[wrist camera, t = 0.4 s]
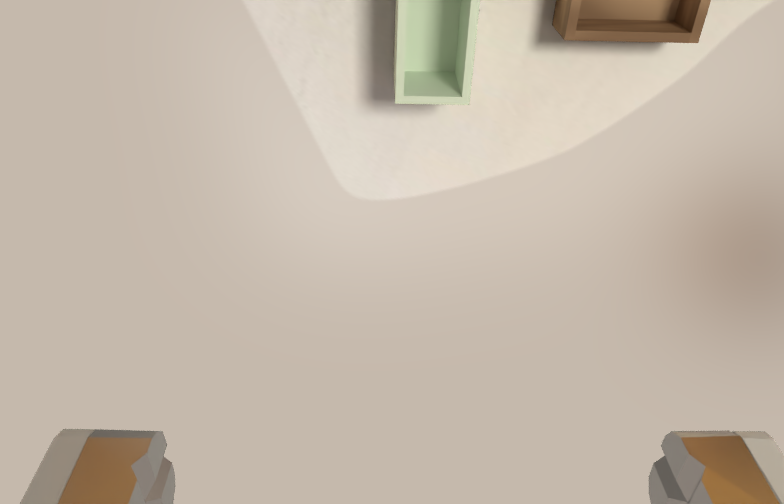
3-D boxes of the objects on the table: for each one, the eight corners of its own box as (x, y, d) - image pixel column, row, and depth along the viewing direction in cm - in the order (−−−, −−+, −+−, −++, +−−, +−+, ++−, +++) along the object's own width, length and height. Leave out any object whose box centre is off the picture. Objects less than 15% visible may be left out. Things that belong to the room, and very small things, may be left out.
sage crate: (397, -75, 45) (400, -61, 40) (474, -73, 45) (485, -59, 41) (393, 75, 52) (395, 103, 47) (460, 76, 52) (469, 104, 47)
